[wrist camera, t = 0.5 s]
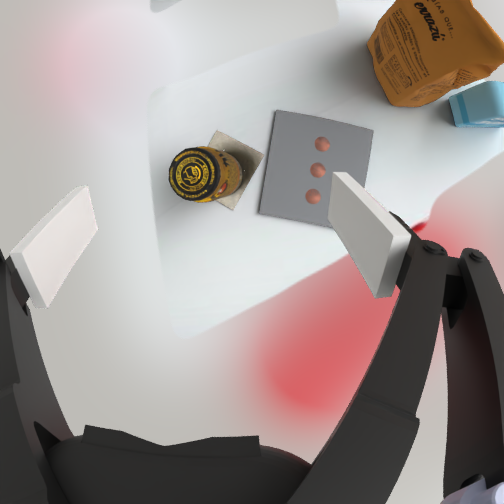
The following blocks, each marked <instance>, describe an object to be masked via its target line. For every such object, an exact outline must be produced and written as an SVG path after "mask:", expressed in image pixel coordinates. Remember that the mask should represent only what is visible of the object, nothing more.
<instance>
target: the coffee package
mask: <svg viewBox="0 0 504 504" xmlns="http://www.w3.org/2000/svg"><path fill="white" fill-rule="evenodd" d="M367 46H368V49H369V51H370V53H371V55H372V57H373V66H374V70H375V74H376V77H377V79H378V81H379V83H380V84H381V86H382V88H383V89H384V92H385V94H386V96H387V98H388V100H389V102H390V103H391V104H392V105H393V106H398V107H403V106H405V107H420V106H423V105H425V104H428V103H431V102H433V101H435V100H437V99H439V98H440V97H442V96H443V95H445V94H446V93H448V92H449V91H450V90H452V89H458V88H460V87H461V86H465V85H468V84H470V83H472V82H475V81H477V80H480V79H483V78H486V77H488V76H490V74H491V73H492V72H493V71H494V70H496V69H497V67H499V66H500V65H501V64H503V63H504V42H503V41H502V40H501V38H500V37H499V36H498V35H497V33H496V32H495V31H494V30H493V29H492V27H491V26H490V25H489V24H488V23H487V21H486V20H485V19H484V18H483V17H482V15H481V14H480V13H479V12H478V11H477V10H476V9H475V8H474V7H473V4H472V1H471V0H396V1H395V2H394V4H393V5H392V6H391V7H390V8H389V9H388V10H387V12H386V13H385V14H384V15H383V16H382V18H381V19H380V20H379V21H378V24H377V26H376V29H375V31H374V32H373V34H372V35H371V37H370V39H369V41H368V42H367Z"/></svg>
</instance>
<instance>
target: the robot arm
mask: <svg viewBox="0 0 504 504" xmlns="http://www.w3.org/2000/svg"><path fill="white" fill-rule="evenodd" d="M328 220H329V222H330V223H331V225H332V226H333V228H334V230H335V231H336V233H337V234H338V236H339V238H340V239H341V241H342V243H343V244H344V246H345V247H346V249H347V251H348V252H349V254H350V256H351V257H352V259H353V261H354V263H355V264H356V266H357V267H358V269H359V271H360V273H361V275H362V276H363V278H364V279H365V281H366V283H367V285H368V287H369V288H370V290H371V292H372V294H373V296H374V298H383V297H391V296H392V293H393V291H394V288H395V285H397V286H398V288H399V289H400V293H399V296H398V299H397V301H396V304H395V306H394V309H393V311H392V314H391V317H390V319H389V322H388V324H387V327H386V329H385V332H384V334H383V336H382V338H381V341H380V343H379V345H378V348H377V350H376V352H375V354H374V356H373V359H372V360H371V363H370V365H369V367H368V369H367V371H366V373H365V375H364V377H363V379H362V381H361V383H360V385H359V387H358V389H357V391H356V392H355V394H354V396H353V398H352V400H351V402H350V403H349V405H348V407H347V409H346V411H345V412H344V414H343V416H342V418H341V419H340V421H339V423H338V425H337V426H336V428H335V429H334V431H333V433H332V434H331V436H330V437H329V439H328V441H327V442H326V444H325V445H324V447H323V448H322V450H321V451H320V453H319V454H318V455H317V457H316V458H315V460H314V461H313V463H312V464H309V463H308V462H306V461H305V460H303V459H301V458H300V457H298V456H295V455H294V454H292V453H289V452H286V451H284V450H281V449H277V448H273V447H269V446H262V445H260V444H259V436H242V437H210V438H206V439H201V440H197V441H192V442H187V443H181V444H176V445H170V446H162V445H158V444H155V443H152V442H149V441H146V440H144V439H141V438H138V437H136V436H133V435H131V434H128V433H126V432H123V431H118V430H112V429H105V428H100V427H95V426H89V425H85V429H84V433H83V435H80V436H74V435H73V434H72V432H71V431H70V429H69V427H68V425H67V423H66V420H65V418H64V416H63V414H62V411H61V409H60V406H59V404H58V401H57V399H56V397H55V394H54V391H53V388H52V386H51V383H50V380H49V378H48V374H47V371H46V368H45V365H44V362H43V359H42V356H41V353H40V349H39V346H38V342H37V339H36V334H35V331H34V326H33V322H32V318H31V313H30V309H29V308H28V306H27V304H26V302H27V300H28V298H29V297H30V298H31V300H32V302H33V304H34V306H35V308H48V307H49V306H50V304H51V302H52V300H53V298H54V297H55V295H56V293H57V292H58V290H59V288H60V287H61V285H62V283H63V282H64V280H65V278H66V277H67V275H68V274H69V272H70V270H71V269H72V267H73V266H74V264H75V262H76V261H77V259H78V258H79V257H80V255H81V254H82V252H83V251H84V249H85V248H86V246H87V245H88V243H89V242H90V240H91V239H92V238H93V236H94V235H95V233H96V232H97V231H98V226H97V223H96V219H95V215H94V211H93V207H92V202H91V198H90V194H89V189H88V185H86V186H80V187H76V188H75V189H73V190H72V191H71V192H70V193H69V194H68V195H67V196H66V197H64V198H63V199H62V200H61V201H60V202H59V203H58V204H57V205H56V206H55V207H54V208H53V209H52V210H50V211H49V212H48V213H47V214H46V215H45V216H44V217H43V218H42V219H41V220H40V221H39V222H38V223H37V224H36V225H35V226H34V227H33V228H32V229H31V230H30V231H29V232H28V234H27V235H26V236H25V237H24V238H23V239H22V240H21V241H20V242H19V243H18V244H17V245H16V246H15V248H14V249H13V250H12V251H11V252H10V256H9V257H8V258H7V259H6V260H5V259H4V256H3V254H2V252H1V249H0V504H385V503H386V502H387V500H388V498H389V496H390V494H391V492H392V490H393V488H394V486H395V484H396V482H397V480H398V478H399V476H400V473H401V471H402V469H403V467H404V464H405V462H406V460H407V457H408V455H409V453H410V450H411V448H412V445H413V443H414V440H415V437H416V434H417V431H418V428H419V423H420V422H419V419H418V418H416V411H417V407H418V405H419V402H420V398H421V395H422V392H423V389H424V385H425V382H426V378H427V375H428V371H429V367H430V363H431V359H432V355H433V351H434V346H435V341H436V337H437V332H438V327H439V321H440V316H441V315H442V322H443V331H444V340H445V350H446V361H447V362H446V363H447V381H448V382H447V383H448V424H447V443H446V455H445V466H444V478H443V493H444V494H443V497H444V500H443V501H442V502H441V504H504V294H503V292H502V289H501V287H500V284H499V282H498V280H497V277H496V275H495V273H494V271H493V268H492V266H491V264H490V262H489V260H488V259H487V257H486V256H484V255H483V253H482V252H479V250H475V249H472V248H465V249H463V251H462V253H461V256H460V258H455V257H450V256H448V254H447V252H446V250H445V249H444V248H443V247H442V246H440V245H439V244H437V243H435V242H433V241H429V240H421V239H420V238H419V237H418V236H417V234H416V233H415V232H414V231H413V230H412V229H410V227H409V226H408V225H407V224H405V222H404V221H403V220H402V219H401V218H400V217H399V216H397V215H395V214H393V213H392V212H388V211H387V210H386V209H385V208H384V207H383V206H382V205H381V204H380V203H379V202H378V201H377V200H376V199H375V198H374V197H373V196H372V195H371V194H370V193H369V192H367V191H366V190H365V189H364V188H363V187H362V186H361V185H360V184H359V183H358V182H357V181H355V180H354V179H353V178H352V177H351V176H350V175H349V174H348V173H347V172H333V177H332V186H331V195H330V203H329V211H328Z"/></svg>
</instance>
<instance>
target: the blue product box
mask: <svg viewBox="0 0 504 504" xmlns="http://www.w3.org/2000/svg"><path fill="white" fill-rule="evenodd" d="M449 101H450V105H451V109H452V113H453V117H454V121H455V125H456V126H457V127H504V82H498V81H487V82H483V83H481V84H479V85H476V86H474V87H471V88H469V89H467V90H465V91H462V92H460V93H458V94H455V95H453V96H451V97H449Z"/></svg>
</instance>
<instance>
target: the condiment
mask: <svg viewBox="0 0 504 504" xmlns="http://www.w3.org/2000/svg"><path fill="white" fill-rule="evenodd" d="M223 150H224V151H223ZM263 156H264V154H262V153H260V152H258V151H256V150H254V149H252V148H251V147H249V146H247V145H245V144H243V143H241V142H239V141H237V140H235V139H233V138H231V137H229V136H227V135H225V134H223V133H221V132H219V131H216V133H215V134H214V136H213V138H212V140H211V141H210V143H209V145H208V147H204V146H201V147H196V148H188V149H185V150H183V151H181V152H180V153H179V154H178V155H176V157H175V158H174V159H173V161H172V163H171V166H170V168H169V182H170V185H171V187H172V189H173V190H174V191H175V193H176V194H177V195H178V196H180V197H182V198H183V199H185V200H189V201H195V202H210V201H214V200H216V201H218V202H220V203H221V204H223V205H225V206H227V207H228V208H230V209H232V210H234V208H235V206H236V204H237V202H238V201H239V199H240V197H241V195H242V193H243V192H244V190H245V188H246V186H247V184H248V183H249V181H250V179H251V177H252V175H253V174H254V172H255V170H256V169H257V167H258V165H259V163H260V161H261V160H262V158H263ZM244 170H245V171H244Z"/></svg>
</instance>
